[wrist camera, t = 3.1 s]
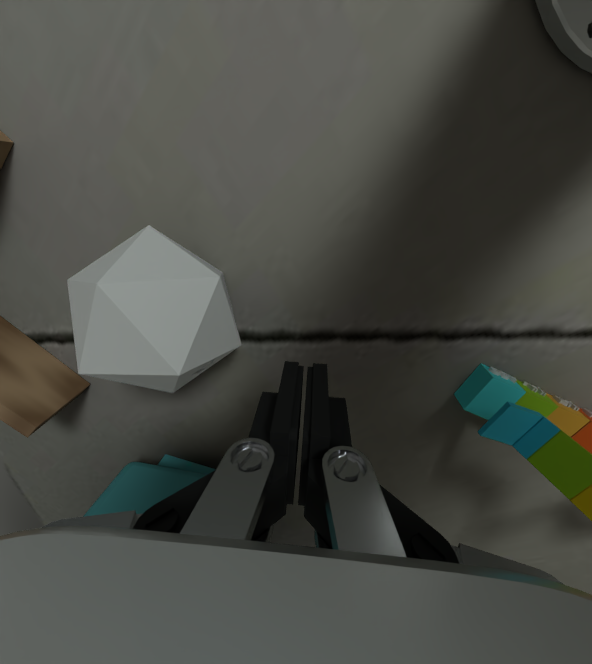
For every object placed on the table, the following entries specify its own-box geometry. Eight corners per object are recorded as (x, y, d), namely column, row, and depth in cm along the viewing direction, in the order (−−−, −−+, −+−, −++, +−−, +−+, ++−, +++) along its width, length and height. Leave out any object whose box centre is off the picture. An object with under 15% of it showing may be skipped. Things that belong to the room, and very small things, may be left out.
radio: (135, 421, 26) (-75, 671, 12) (251, 442, 26) (166, 721, 12) (158, 605, 41) (75, 810, 27) (231, 620, 40) (184, 834, 27)
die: (146, 342, 23) (168, 449, 17) (31, 261, 16) (-3, 391, 10) (232, 282, 23) (286, 366, 17) (154, 179, 16) (196, 255, 10)
